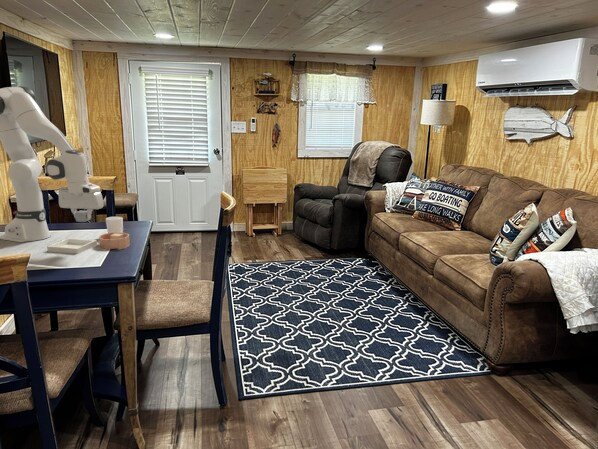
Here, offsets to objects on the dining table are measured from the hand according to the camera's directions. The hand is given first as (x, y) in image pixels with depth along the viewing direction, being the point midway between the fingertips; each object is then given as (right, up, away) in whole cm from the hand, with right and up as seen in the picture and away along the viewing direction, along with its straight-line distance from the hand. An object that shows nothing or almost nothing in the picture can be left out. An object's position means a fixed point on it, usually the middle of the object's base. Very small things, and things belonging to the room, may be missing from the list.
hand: (82, 218), depth 201 cm
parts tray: (-7, -14, +4) cm, 16 cm away
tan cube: (+10, -12, +13) cm, 20 cm away
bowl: (+10, -13, +11) cm, 20 cm away
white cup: (+4, -10, +25) cm, 27 cm away
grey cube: (0, -1, 0) cm, 1 cm away
